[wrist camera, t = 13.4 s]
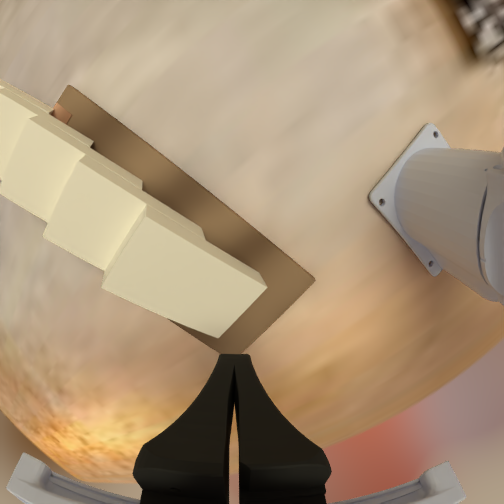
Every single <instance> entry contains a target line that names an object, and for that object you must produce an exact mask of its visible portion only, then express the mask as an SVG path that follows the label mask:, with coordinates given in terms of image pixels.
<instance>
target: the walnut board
mask: <svg viewBox="0 0 504 504" xmlns="http://www.w3.org/2000/svg"><path fill="white" fill-rule="evenodd" d="M53 109H54V110H53V112H52V114H51V116H53V117H54V118H56V119H58V120H59V121H61V122H63V123H64V124H66V125H68V126H69V127H71V128H73V129H74V130H76V131H78V132H79V133H81V134H83V135H84V136H86V137H88V138H89V139H91V140H92V141H94V142H93V144H92V145H91V147H90V148H91V149H93V150H94V151H96V152H98V153H99V154H101V155H102V156H104V157H106V158H107V159H109V160H110V161H112V162H113V163H115V164H117V165H118V166H120V167H121V168H123V169H125V170H126V171H128V172H129V173H131V174H133V175H134V176H136V177H137V178H139V179H141V180H142V191H144V192H146V193H147V194H149V195H150V196H152V197H154V198H155V199H157V200H158V201H160V202H161V203H163V204H165V205H166V206H168V207H169V208H171V209H173V210H174V211H176V212H177V213H179V214H181V215H182V216H184V217H185V218H187V219H189V220H190V221H192V222H193V223H195V224H196V225H198V226H200V227H201V228H202V231H203V234H204V237H205V239H206V241H208V242H209V243H211V244H213V245H214V246H216V247H218V248H219V249H221V250H222V251H224V252H226V253H227V254H229V255H231V256H232V257H234V258H236V259H237V260H239V261H241V262H242V263H244V264H246V265H247V266H249V267H251V268H252V269H254V270H256V271H257V272H259V273H260V275H261V277H262V278H263V280H264V282H265V284H266V286H267V287H268V288H267V289H266V290H265V291H264V292H263V293H262V294H261V295H260V296H259V297H258V298H257V299H256V300H255V301H254V302H253V303H252V304H251V305H250V306H249V307H248V308H247V310H246V311H245V312H244V313H243V314H242V315H241V316H240V317H239V318H238V319H237V320H236V321H235V322H234V323H233V324H232V325H231V326H230V327H229V328H228V329H227V330H226V331H225V332H224V333H223V334H222V335H221V336H220V337H219V338H216V337H213V336H210V335H208V334H205V333H202V332H200V331H197V330H195V329H192V328H190V327H187V326H185V325H182V324H180V323H177V322H175V321H173V320H170V319H169V320H170V321H172V322H173V323H175V324H176V325H177V326H179V327H180V328H182V329H183V330H185V331H186V332H188V333H189V334H191V335H192V336H194V337H195V338H197V339H198V340H200V341H201V342H203V343H205V344H206V345H208V346H209V347H211V348H212V349H214V350H216V351H217V352H219V353H220V354H241V353H242V352H243V351H244V350H245V349H247V348H248V347H249V346H250V345H251V344H252V343H253V342H254V341H255V340H256V339H257V338H258V337H259V336H260V335H261V334H262V333H264V332H265V331H266V330H267V329H268V328H269V327H270V326H271V325H272V324H273V323H274V322H275V321H276V320H277V319H278V318H279V317H280V316H281V315H282V314H283V313H284V312H285V311H286V310H287V309H288V308H289V307H290V306H291V305H292V304H293V303H294V302H295V301H296V300H297V299H298V298H299V297H300V296H301V295H302V294H303V293H304V292H305V291H306V290H307V289H308V288H309V287H310V286H311V285H312V284H313V283H314V282H315V281H316V280H315V278H314V277H313V276H312V275H310V274H309V273H308V272H307V271H306V270H305V269H303V268H302V267H301V266H300V265H299V264H297V263H296V262H295V261H294V260H293V259H291V258H290V257H289V256H288V255H287V254H285V253H284V252H283V251H282V250H280V249H279V248H278V247H277V246H276V245H274V244H273V243H272V242H271V241H270V240H268V239H267V238H266V237H265V236H263V235H262V234H261V233H260V232H259V231H257V230H256V229H255V228H254V227H252V226H251V225H250V224H249V223H248V222H246V221H245V220H244V219H243V218H241V217H240V216H239V215H238V214H236V213H235V212H234V211H233V210H232V209H230V208H229V207H228V206H227V205H225V204H224V203H223V202H222V201H220V200H219V199H218V198H217V197H215V196H214V195H213V194H212V193H210V192H209V191H208V190H207V189H205V188H204V187H203V186H202V185H200V184H199V183H198V182H197V181H195V180H194V179H193V178H191V177H190V176H189V175H188V174H186V173H185V172H184V171H183V170H181V169H180V168H179V167H178V166H176V165H175V164H174V163H172V162H171V161H170V160H169V159H167V158H166V157H165V156H163V155H162V154H161V153H160V152H158V151H157V150H156V149H154V148H153V147H152V146H151V145H149V144H148V143H147V142H145V141H144V140H143V139H142V138H140V137H139V136H138V135H136V134H135V133H134V132H132V131H131V130H130V129H128V128H127V127H126V126H125V125H123V124H122V123H121V122H119V121H118V120H117V119H115V118H114V117H113V116H111V115H110V114H109V113H107V112H106V111H105V110H103V109H102V108H101V107H99V106H98V105H97V104H95V103H94V102H93V101H91V100H90V99H89V98H87V97H86V96H85V95H83V94H82V93H81V92H79V91H78V90H77V89H75V88H74V87H72V86H70V85H68V86H67V87H66V89H65V90H64V92H63V93H62V95H61V97H60V98H59V100H58V101H57V103H56V104H55V106H54V108H53ZM167 319H168V318H167Z"/></svg>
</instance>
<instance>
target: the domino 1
mask: <svg viewBox="0 0 504 504" xmlns="http://www.w3.org/2000/svg"><path fill="white" fill-rule="evenodd" d="M3 88H6V89H7V90H9V91H11V92H13V93H14V94H16V95H18V96H19V97H21V98H23V99H24V100H26V101H28V102H29V103H31V104H33V105H34V106H36V107H38V108H39V109H41V110H43V111H44V112H46V113H48V114H49V115H51V114H52V112H53V110H54V109H53V108H51V107H49V106H48V105H46V104H44V103H42V102H41V101H39V100H37V99H35V98H34V97H32V96H30V95H28V94H26V93H25V92H23V91H21V90H19V89H17V88H16V87H14V86H12V85H10V84H8V83H7V82H5V81H3V80H1V79H0V89H3Z"/></svg>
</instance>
